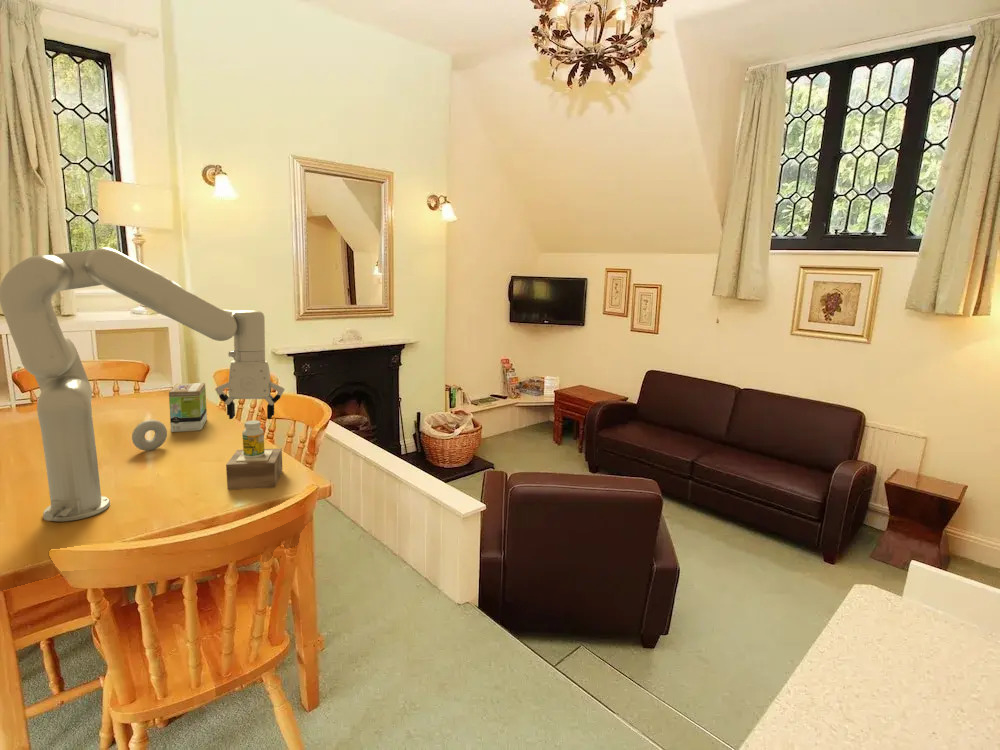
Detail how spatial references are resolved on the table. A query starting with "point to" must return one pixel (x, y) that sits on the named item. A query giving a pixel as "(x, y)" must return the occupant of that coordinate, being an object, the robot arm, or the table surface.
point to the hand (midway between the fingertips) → (251, 417)
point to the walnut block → (254, 470)
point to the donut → (144, 427)
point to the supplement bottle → (253, 439)
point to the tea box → (187, 407)
